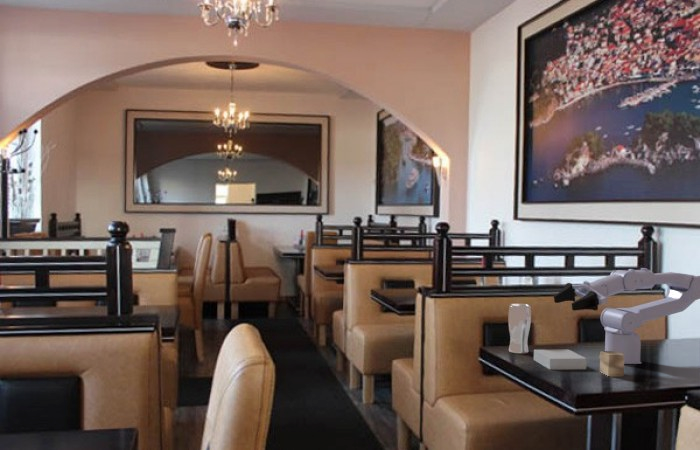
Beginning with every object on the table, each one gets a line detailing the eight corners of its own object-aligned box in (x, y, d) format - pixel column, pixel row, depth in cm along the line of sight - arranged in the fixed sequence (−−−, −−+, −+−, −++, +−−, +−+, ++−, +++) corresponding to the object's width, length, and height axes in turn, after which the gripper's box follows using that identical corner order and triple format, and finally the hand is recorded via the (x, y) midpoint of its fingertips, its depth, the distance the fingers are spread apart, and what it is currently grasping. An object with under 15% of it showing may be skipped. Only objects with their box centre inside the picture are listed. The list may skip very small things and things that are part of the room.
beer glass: (530, 354, 191) (532, 307, 190) (507, 353, 192) (509, 305, 192) (528, 349, 197) (530, 303, 197) (506, 348, 199) (508, 302, 198)
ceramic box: (568, 360, 186) (568, 349, 185) (586, 370, 175) (586, 358, 175) (533, 361, 184) (533, 349, 184) (549, 370, 173) (550, 358, 173)
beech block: (614, 372, 172) (615, 351, 172) (623, 376, 168) (624, 354, 168) (599, 372, 172) (600, 351, 172) (608, 376, 167) (608, 354, 167)
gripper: (582, 271, 187) (545, 284, 183) (617, 283, 174) (579, 297, 170) (584, 292, 189) (548, 305, 185) (619, 305, 176) (582, 320, 172)
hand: (563, 303), depth 178 cm, fingers open, 7 cm apart
